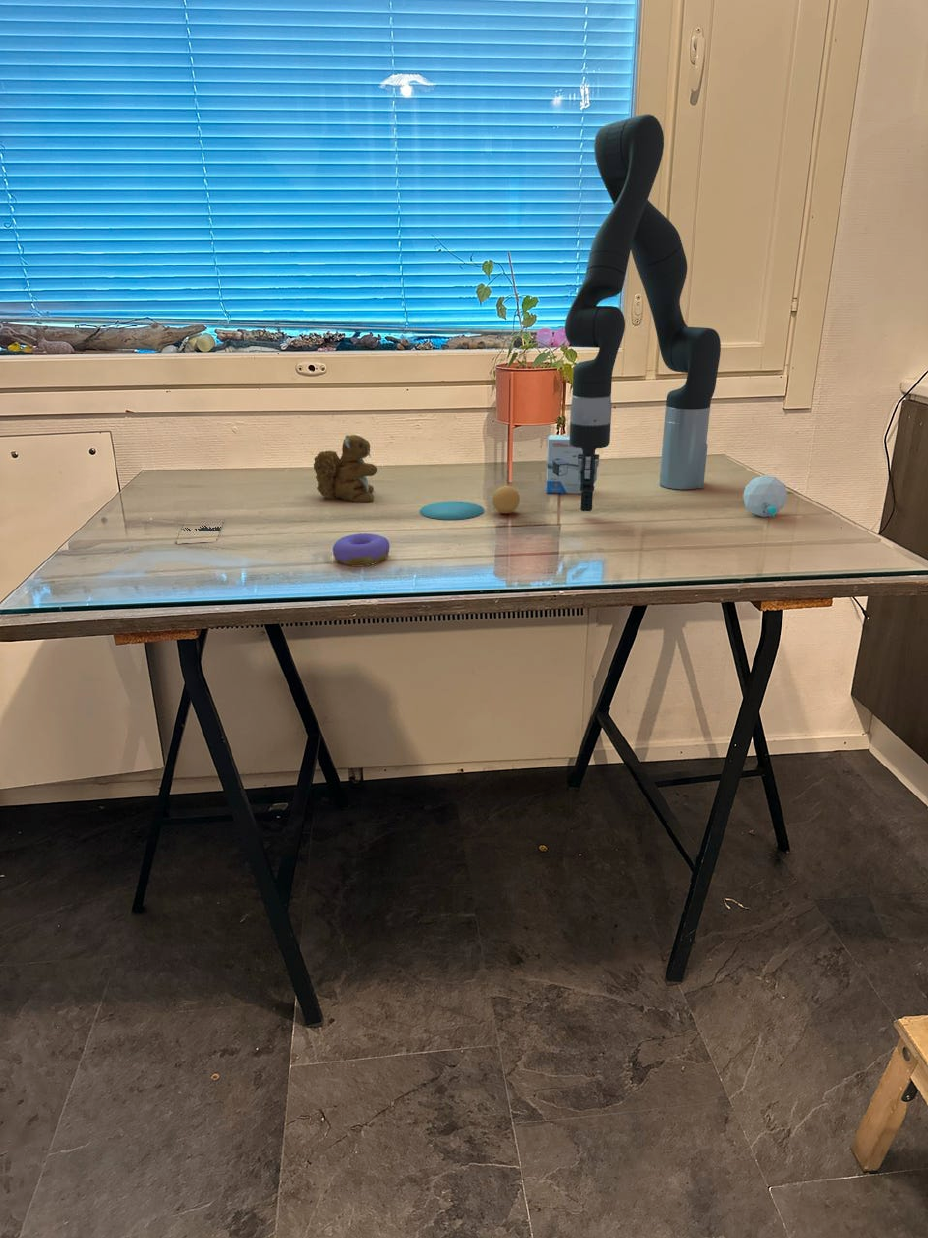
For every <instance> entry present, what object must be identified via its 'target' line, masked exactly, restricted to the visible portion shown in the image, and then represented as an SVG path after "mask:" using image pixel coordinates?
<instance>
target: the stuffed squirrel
mask: <svg viewBox="0 0 928 1238" xmlns="http://www.w3.org/2000/svg"><path fill="white" fill-rule="evenodd" d="M341 452H342V453H341V456H340V457H339V455H338V453H337V451H335V450H325V451H323V450H322V451H320V452H319V453H317V455H316V456H315V457H314V463H313V469H314V472H315V473H316V476H315V478H316V481H317V482H318V483H317V484H318V485H317V487H316V489H317V491H318V492H319V493H320V495H321V496H322V497H324V498H326V500H333V499H332V498H336V499H342V500H343V501H347V500H348V501H349V502H352V501H353V502H354V503H371V502H370V501H372V502H373V501H374V500H375V495H374V494H373V492H374V491H375V488H374V486H373V485H371V484H369V480H368V478H367V477H369V476H370V477H372V476H375V475H376V474H377V473H378V467H377V466H376V465H375V464H373V463H367V462H365V461H364V459H366V458H367V457H368V456H369V458H371V444H370V442H369V441H368V440H367V439H365V438H364V437H362V436H360V435H356V434H351V435H346V436H345V438H344V440H343V442H342V451H341ZM371 491H372V492H371ZM348 501H347V502H348ZM353 502H352V503H353Z"/></svg>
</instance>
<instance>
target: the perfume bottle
mask: <svg viewBox="0 0 928 1238" xmlns="http://www.w3.org/2000/svg"><path fill="white" fill-rule="evenodd" d="M786 489H787V488H786V484H785V482H782V481H781V480H780V479H779V478H777V477H776V476H773V475H769V474H764V475H761V476H757V477H754V478H753V479H752V480H751V481H750V482H748V484H747V485H746V486H745V487H744V492H743V501H744V507H745V509H747V510H748V511H750V512H751V513H752V514H754V515H755V516H758V517H761V518H766V517H768V518H772V517H773V518H774V519H775V515H777V514H778V513H779V512H780V511H781V510H782V509H783V508H784V507H785V506H786V502H787V498H788V495H787V490H786Z"/></svg>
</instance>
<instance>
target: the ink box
mask: <svg viewBox="0 0 928 1238" xmlns="http://www.w3.org/2000/svg"><path fill="white" fill-rule="evenodd" d="M569 440H570V434H550V435H548V436H547V456H546V482H545V483H546V485H545V486H546V487H545V491H546V494H569V495H571V494H573V495H574V494H577V495H579V494H580V495H581V491H580V484H581V481H579V467H578V457H579V454H583V450H582V448H576V447H573V446H571V445H570V443H569Z"/></svg>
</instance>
